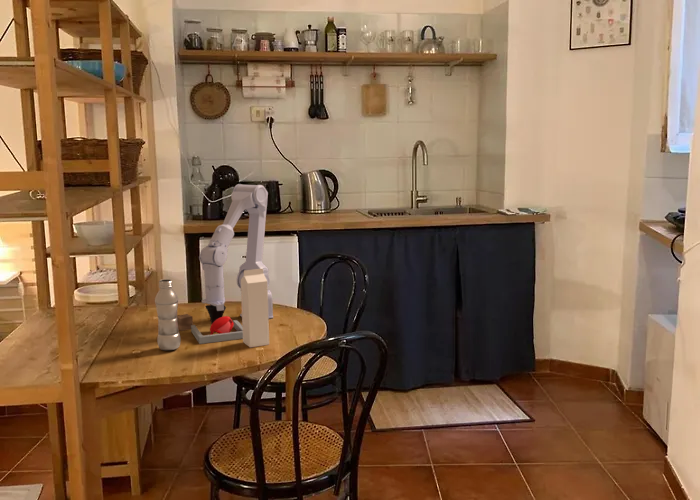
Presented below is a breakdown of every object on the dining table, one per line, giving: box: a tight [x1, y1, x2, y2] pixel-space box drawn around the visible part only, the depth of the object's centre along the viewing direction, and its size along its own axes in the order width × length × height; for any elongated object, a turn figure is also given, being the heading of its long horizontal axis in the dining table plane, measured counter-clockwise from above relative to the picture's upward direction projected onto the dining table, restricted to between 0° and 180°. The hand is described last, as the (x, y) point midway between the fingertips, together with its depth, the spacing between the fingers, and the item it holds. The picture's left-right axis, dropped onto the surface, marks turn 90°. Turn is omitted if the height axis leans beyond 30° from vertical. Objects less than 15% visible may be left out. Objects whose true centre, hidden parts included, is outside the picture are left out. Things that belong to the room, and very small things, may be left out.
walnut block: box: [177, 313, 194, 332], centre depth 217 cm, size 4×4×4 cm
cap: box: [209, 315, 234, 335], centre depth 208 cm, size 8×6×6 cm
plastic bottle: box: [154, 278, 181, 351], centre depth 194 cm, size 6×7×20 cm
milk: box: [240, 269, 270, 348], centre depth 199 cm, size 6×6×22 cm
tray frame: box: [190, 319, 243, 345], centre depth 209 cm, size 14×14×2 cm
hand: (216, 328), depth 213 cm, fingers closed
